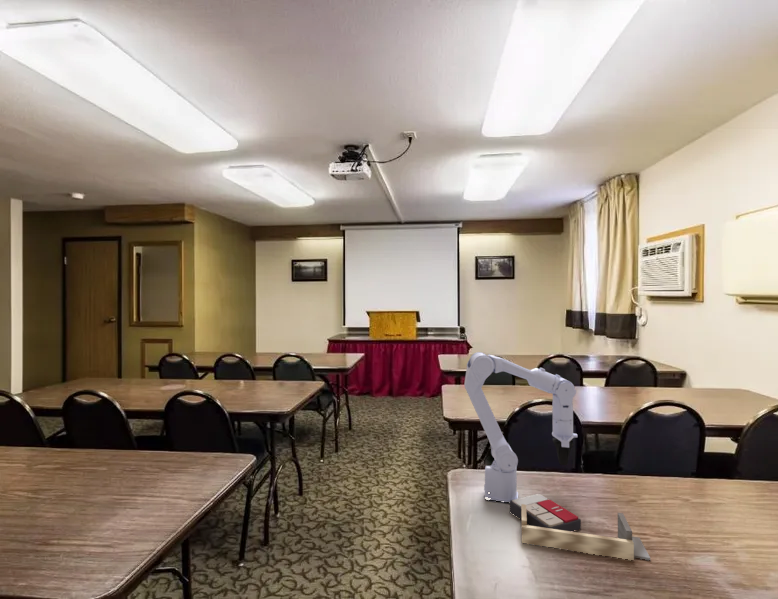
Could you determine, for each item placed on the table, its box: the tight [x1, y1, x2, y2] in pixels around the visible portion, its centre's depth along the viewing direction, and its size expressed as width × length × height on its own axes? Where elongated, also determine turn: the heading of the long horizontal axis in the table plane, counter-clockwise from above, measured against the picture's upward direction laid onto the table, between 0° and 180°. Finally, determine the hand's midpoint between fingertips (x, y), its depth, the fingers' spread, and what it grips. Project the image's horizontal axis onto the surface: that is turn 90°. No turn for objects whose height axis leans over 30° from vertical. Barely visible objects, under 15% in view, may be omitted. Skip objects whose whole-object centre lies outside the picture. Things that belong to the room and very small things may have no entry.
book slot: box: [521, 504, 651, 561], centre depth 103 cm, size 28×10×6 cm, turn 73°
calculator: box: [509, 493, 582, 531], centre depth 113 cm, size 11×4×15 cm
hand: (563, 464), depth 126 cm, fingers closed
